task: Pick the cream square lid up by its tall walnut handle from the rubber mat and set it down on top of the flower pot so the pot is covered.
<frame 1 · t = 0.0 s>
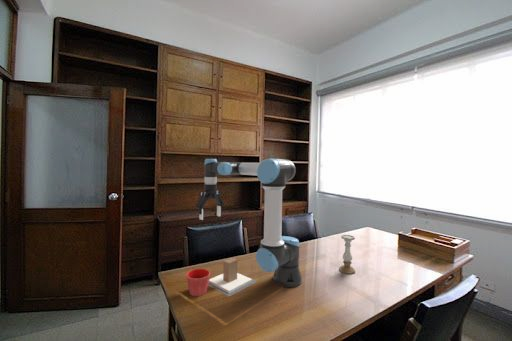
hand: (210, 217, 153), 28 cm above the table, fingers open, 13 cm apart
lid: (230, 281, 127), point 1 cm above the table, touching mat
mat: (230, 283, 127), on the table
flower pot: (198, 293, 117), on the table
candle holder: (347, 271, 144), on the table
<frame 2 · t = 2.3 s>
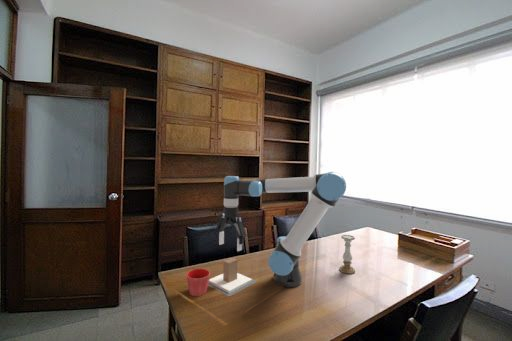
hand: (230, 247, 127), 19 cm above the table, fingers open, 13 cm apart
nothing on the table moved.
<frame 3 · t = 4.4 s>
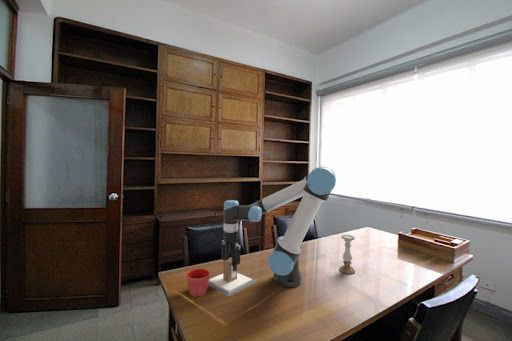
hand: (230, 275, 127), 4 cm above the table, fingers closed on lid, 4 cm apart
lid: (230, 281, 127), point 1 cm above the table, touching gripper, mat
everything else where it was.
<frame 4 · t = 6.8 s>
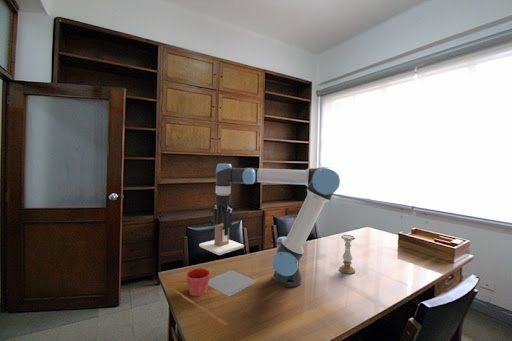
hand: (221, 240, 124), 23 cm above the table, fingers closed on lid, 4 cm apart
lid: (221, 246, 124), point 20 cm above the table, touching gripper
everything else where it was.
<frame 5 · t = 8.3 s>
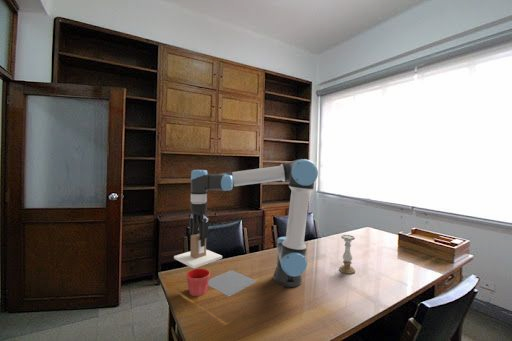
hand: (198, 251, 116), 20 cm above the table, fingers closed on lid, 4 cm apart
lid: (198, 258, 117), point 17 cm above the table, touching gripper
everything else where it was.
when the fingers open (15 cm above the table, at t = 9.6 s): lid drops 2 cm, resting on flower pot.
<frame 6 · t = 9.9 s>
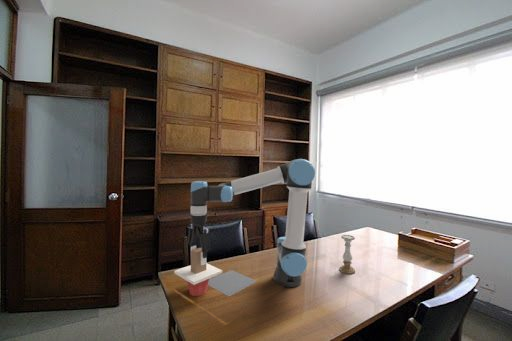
hand: (198, 261, 117), 15 cm above the table, fingers open, 7 cm apart
lid: (198, 273, 117), point 10 cm above the table, touching flower pot
flower pot: (198, 293, 117), on the table, touching lid
everything else where it was.
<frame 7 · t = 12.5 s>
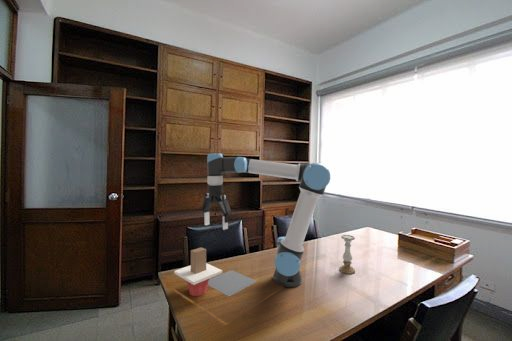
hand: (215, 227, 123), 30 cm above the table, fingers open, 13 cm apart
nothing on the table moved.
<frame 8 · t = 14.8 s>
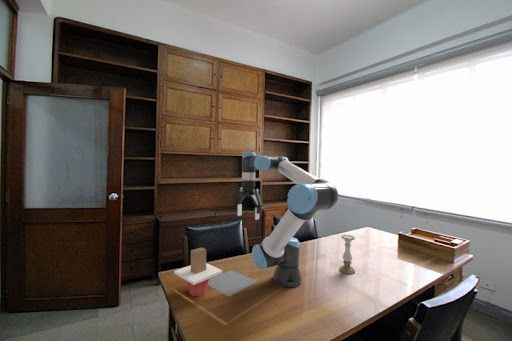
hand: (248, 217, 139), 32 cm above the table, fingers open, 13 cm apart
nothing on the table moved.
at the end: lid 0.1 cm from the flower pot (horizontally); lid point 9.6 cm above the table; the gripper is holding nothing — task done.
